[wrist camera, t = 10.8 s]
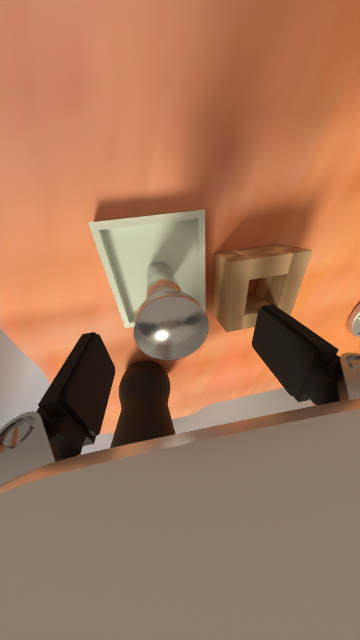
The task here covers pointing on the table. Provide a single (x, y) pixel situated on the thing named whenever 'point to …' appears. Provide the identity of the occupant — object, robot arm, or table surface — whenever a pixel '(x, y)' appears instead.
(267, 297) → the square wooden holder
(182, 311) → the pin
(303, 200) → the table surface
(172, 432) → the cola bottle
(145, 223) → the tray
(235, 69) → the table surface
